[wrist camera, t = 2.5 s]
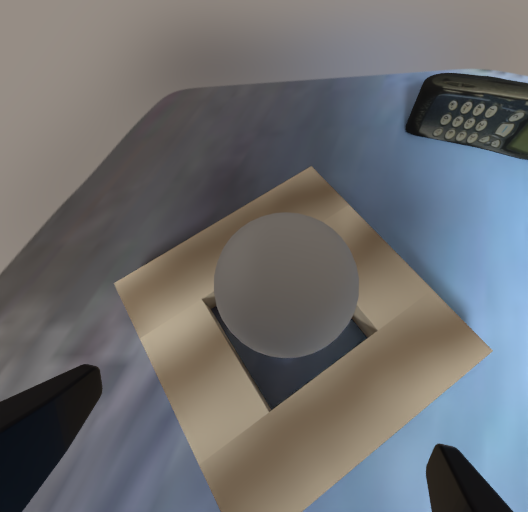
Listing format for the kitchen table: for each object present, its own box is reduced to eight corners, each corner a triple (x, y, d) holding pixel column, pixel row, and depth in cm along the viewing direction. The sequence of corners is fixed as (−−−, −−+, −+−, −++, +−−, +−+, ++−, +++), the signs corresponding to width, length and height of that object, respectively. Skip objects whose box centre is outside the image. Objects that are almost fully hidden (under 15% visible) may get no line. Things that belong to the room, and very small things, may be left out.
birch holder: (468, 356, 19) (493, 351, 16) (250, 536, 16) (243, 560, 13) (309, 187, 25) (311, 166, 22) (132, 294, 22) (114, 283, 20)
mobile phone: (422, 88, 22) (677, 123, 19) (427, 63, 23) (670, 91, 20) (401, 140, 27) (604, 176, 23) (406, 117, 28) (601, 148, 24)
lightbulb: (254, 272, 22) (225, 170, 12) (338, 290, 21) (385, 195, 11) (229, 358, 20) (169, 320, 10) (324, 383, 19) (365, 368, 9)
